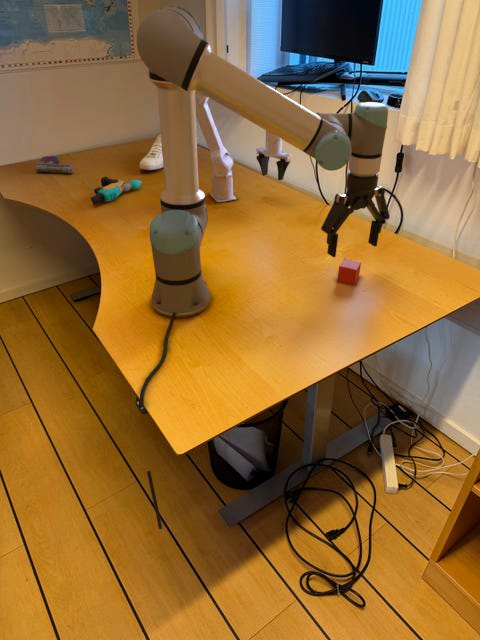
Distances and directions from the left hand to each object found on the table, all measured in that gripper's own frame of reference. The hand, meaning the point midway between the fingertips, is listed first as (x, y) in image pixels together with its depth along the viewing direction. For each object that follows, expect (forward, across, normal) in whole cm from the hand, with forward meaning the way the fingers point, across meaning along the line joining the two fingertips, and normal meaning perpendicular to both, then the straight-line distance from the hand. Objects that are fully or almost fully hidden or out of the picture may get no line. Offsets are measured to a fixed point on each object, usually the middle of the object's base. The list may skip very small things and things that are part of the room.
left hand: (352, 249), depth 129 cm
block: (+9, 0, 0) cm, 9 cm away
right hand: (0, -8, -60) cm, 60 cm away
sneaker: (+9, +17, -122) cm, 123 cm away
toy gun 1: (+9, +59, -136) cm, 149 cm away
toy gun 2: (+9, +46, -94) cm, 105 cm away
